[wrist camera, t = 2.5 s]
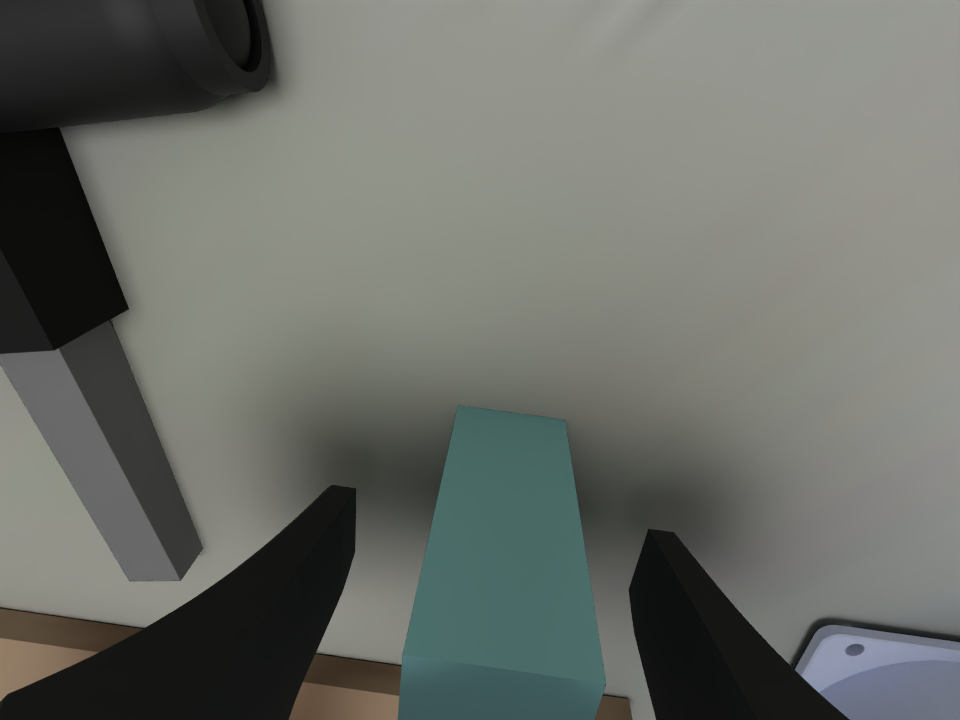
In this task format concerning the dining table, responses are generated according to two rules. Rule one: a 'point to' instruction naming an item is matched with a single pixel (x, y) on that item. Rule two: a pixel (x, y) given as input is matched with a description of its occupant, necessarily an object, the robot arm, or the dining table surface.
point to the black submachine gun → (99, 239)
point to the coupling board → (64, 642)
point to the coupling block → (504, 582)
